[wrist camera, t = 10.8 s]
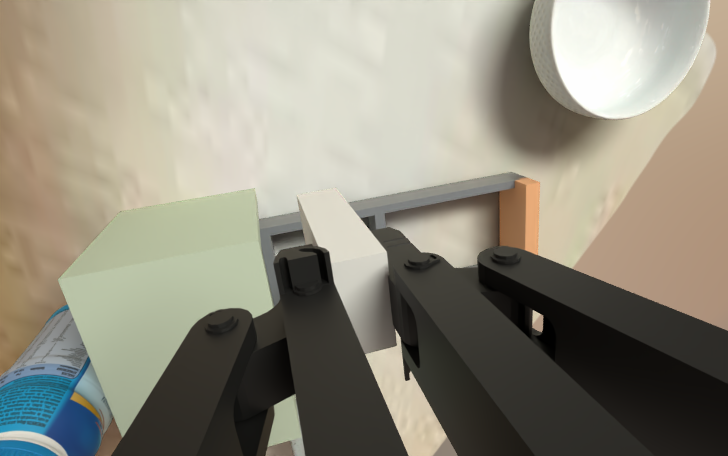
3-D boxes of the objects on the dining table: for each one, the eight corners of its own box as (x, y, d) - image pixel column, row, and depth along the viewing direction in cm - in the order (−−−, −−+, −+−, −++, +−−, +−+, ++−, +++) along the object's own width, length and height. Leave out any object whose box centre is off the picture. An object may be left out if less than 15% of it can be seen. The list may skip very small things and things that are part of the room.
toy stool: (120, 211, 40) (57, 279, 26) (254, 188, 42) (258, 240, 29) (171, 365, 46) (140, 483, 33) (286, 337, 48) (301, 437, 35)
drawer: (256, 219, 43) (258, 237, 38) (511, 172, 48) (539, 182, 43) (277, 316, 46) (281, 343, 42) (511, 262, 52) (537, 281, 47)
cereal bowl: (671, 38, 48) (737, 32, 41) (559, 146, 49) (606, 157, 42) (602, -109, 41) (669, -144, 35) (473, 19, 42) (515, 9, 36)
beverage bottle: (81, 277, 41) (-53, 443, 22) (161, 324, 44) (101, 502, 26) (25, 343, 41) (-150, 556, 23) (108, 384, 45) (13, 598, 26)
